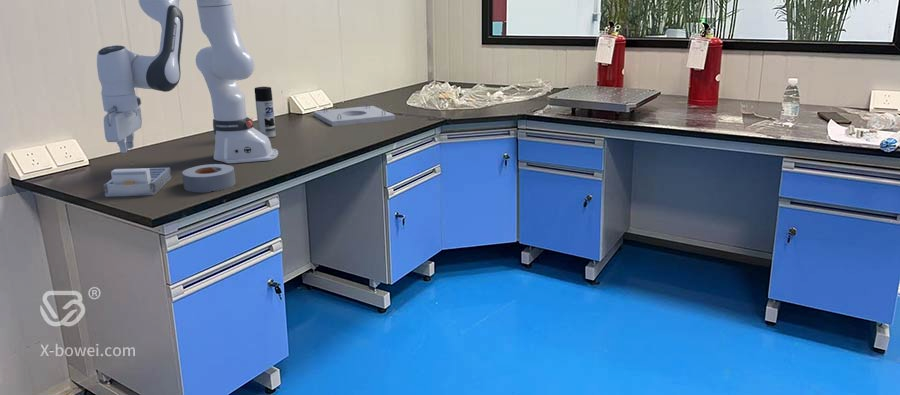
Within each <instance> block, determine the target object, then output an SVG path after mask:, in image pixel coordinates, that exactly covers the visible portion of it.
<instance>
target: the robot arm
mask: <svg viewBox="0 0 900 395" xmlns="http://www.w3.org/2000/svg"><path fill="white" fill-rule="evenodd" d="M138 5H139V7H140V8H141V10H142V11H143V13H145V15H147V16H148V17H149V18H150V19H152V20H154V21H156V22H158V23H159V25H160V27H161V34H160V40H159V41H160V43H159V49H158V52H157V54H156V55H153V56H151V55H140V54H137V53H134V52H132V51H130V50H129V49H127V48H126V46H124V45H119V44H118V45H111V46H105V47H103V48H101V49H99V50H98V52H97V55H96V69H97V76H98V81H99V83H100V86H101V92H100V94H101V101H102V107H103V111H104V112H106V114H105V115H104V117H103V128H104V129H103V131H104V137H105V140H106V142H107V143H116V144H117V145H118V146H117V147H118V148H119V152H120V153H121V154H126V153H127V152H129V150H132V149H133V148H134V147H135V146H134V140H135V132H136V131H138V130H140V129H141V128H142V123H143V118H142V109H141V105H142V99H141V97H139V96H137V95H136V90H135V88H136V89H144V90H155V91H158V92H164V93H165V92H171V91H173V89H175V88H176V87H177V86H178V84H179V83H180V80H181V51H182V42H183V35H184V34H183V32H184V15H183V12H182V11H181V9H180V0H138ZM196 5H197V11H198V16H199V24H200V29H201V31H202V33H203V34H204V35H205V36H206V38H207V40H208V41H209V43H210V45H209V46H205V47H202V49H200V50H199V51H198V52H197V54H196V56H195V65H196V68H197V69H198V70H199V72H200V73H201V74H202V76H203V78H204V81H205V83H206V87H207V88H208V91H209V96H210V99H211V106H212V113H213V119H212V126H213V133H214V137H215V139H214V141H215V142H214V152H213V154H214V155H213V160H215V161H219V162H223V163H225V164H238V163H240V164H241V163H250V162H251V163H252V162H264V161H265V162H266V161H272V160H274V159H276V158H277V157H279V151H278V149H276V148H273V146H272V143H271V140H270V138H268V137H267V136H266V135H264V134H262V133H261V132H259V130H258V129H257V128H254V122H253V120H254V119H253V118H250V117H248V116H247V109H246V100H245V95H244V93H243V91H241V89H240V87H239V85H238V83H237V82H238V81H242V80H246V79H248V78H250V77H251V75H252V74H253V72H254V71H255V61H254V59H253V56H252V55H251V54H250V53H249V52H248V51H247V50H246V48H245V46H244V44H243V42H242V39H241V37H240V35H239V32H238V29H237V26H236V21H235V15H234V10H233V4H232V0H196Z"/></svg>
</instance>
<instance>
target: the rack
mask: <svg viewBox="0 0 900 395" xmlns="http://www.w3.org/2000/svg"><path fill="white" fill-rule="evenodd" d="M149 169H150V176H151V183H135V181H132V182H123V184H113V181H112V178H111V179H110V180H109V181H107V182H106V183H104V184H103V186H102V187H103V191H104V197H106V198H107V197H108V198H109V197H131V196H132V197H135V196H136V197H138V196H140V197H141V196H142V197H143V196H155V195H157V193H158V192H160V190H161V189H162V188H164V186H166V185H167V183H168V182H169V181H170V180H172V179H173V177H172V169H171V167H149Z"/></svg>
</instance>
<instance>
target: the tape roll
mask: <svg viewBox="0 0 900 395" xmlns="http://www.w3.org/2000/svg"><path fill="white" fill-rule="evenodd" d="M181 175H182V182H183V189H184V190H185V191H187V192H191V191H192V193H211V191H214V192H218V191H219V190H220V191H223V189H224V190H228V189H230V188H232V187H233V186H235V185H236V174H235V168H234V166H233V165H230V164H229V165H228V164H223V163H219V164H218V163H214V164H211V163H210V164H203V165H202V164H201V165H196V166H193V167H189V168H186V169H184V170H183V171H182V172H181ZM220 191H219V192H220Z"/></svg>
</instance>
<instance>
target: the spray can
mask: <svg viewBox="0 0 900 395" xmlns="http://www.w3.org/2000/svg"><path fill="white" fill-rule="evenodd" d="M254 99H255V108H256V119H257V127H258V128H257V130H258V131H259V132H261V133H262V134H264V135H266V136H267V137H268V138H269V139H271V138H275V137H276V136H277V134H276V122H275V121H276V120H275V111H274V100H273V92H272V87H270V86H256V87H255V88H254Z"/></svg>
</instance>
